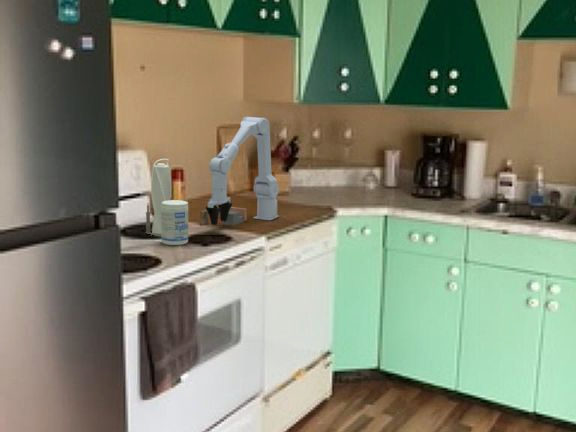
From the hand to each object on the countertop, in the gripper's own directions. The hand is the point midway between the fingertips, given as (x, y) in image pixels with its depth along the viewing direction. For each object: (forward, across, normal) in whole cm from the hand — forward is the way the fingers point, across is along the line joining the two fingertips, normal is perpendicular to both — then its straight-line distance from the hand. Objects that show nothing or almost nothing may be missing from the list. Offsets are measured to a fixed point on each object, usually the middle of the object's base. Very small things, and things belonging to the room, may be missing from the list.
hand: (219, 222), depth 259 cm
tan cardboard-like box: (+2, -12, -9) cm, 15 cm away
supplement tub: (+3, +27, -3) cm, 27 cm away
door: (+2, -18, -3) cm, 18 cm away
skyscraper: (+3, +18, -15) cm, 24 cm away
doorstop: (+3, -12, 0) cm, 13 cm away
